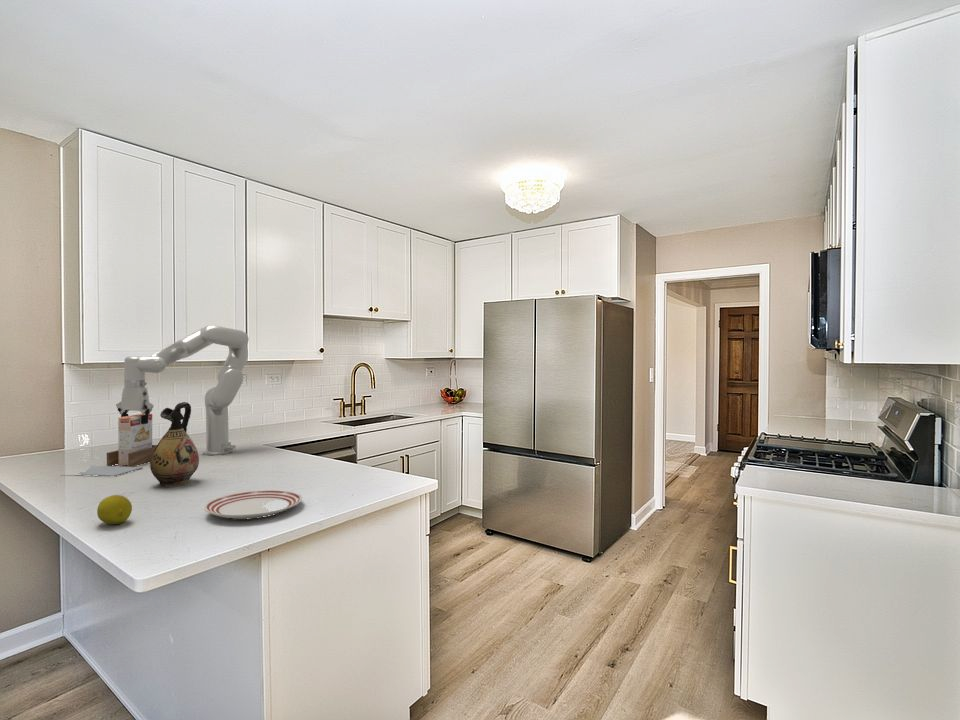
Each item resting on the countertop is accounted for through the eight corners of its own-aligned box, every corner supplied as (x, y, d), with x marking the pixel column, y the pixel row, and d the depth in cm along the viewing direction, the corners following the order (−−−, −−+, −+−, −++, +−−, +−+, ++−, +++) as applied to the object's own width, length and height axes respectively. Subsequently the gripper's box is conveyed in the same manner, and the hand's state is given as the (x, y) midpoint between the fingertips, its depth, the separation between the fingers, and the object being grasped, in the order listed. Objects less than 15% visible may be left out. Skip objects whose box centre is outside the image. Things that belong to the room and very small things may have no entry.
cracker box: (131, 466, 214) (130, 417, 214) (117, 466, 214) (116, 417, 214) (153, 459, 228) (153, 413, 228) (140, 459, 228) (139, 413, 228)
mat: (142, 468, 210) (142, 467, 210) (114, 477, 196) (114, 475, 196) (91, 467, 213) (91, 465, 213) (60, 475, 199) (59, 473, 199)
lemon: (136, 524, 143) (135, 496, 142) (102, 531, 137) (101, 502, 137) (126, 515, 150) (126, 489, 150) (94, 522, 144) (93, 494, 144)
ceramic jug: (177, 490, 177) (175, 405, 176) (140, 488, 180) (138, 404, 179) (212, 478, 194) (210, 400, 193) (177, 476, 197) (176, 400, 196)
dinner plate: (274, 493, 174) (274, 483, 174) (319, 508, 157) (319, 498, 157) (188, 512, 153) (188, 502, 153) (229, 533, 136) (229, 521, 136)
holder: (164, 458, 230) (164, 445, 230) (131, 467, 211) (130, 453, 211) (142, 457, 232) (141, 444, 231) (106, 466, 213) (106, 452, 213)
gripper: (159, 384, 223) (159, 422, 223) (124, 383, 225) (124, 421, 226) (145, 385, 216) (145, 425, 216) (109, 384, 218) (109, 424, 218)
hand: (134, 423), depth 221 cm, fingers open, 9 cm apart
